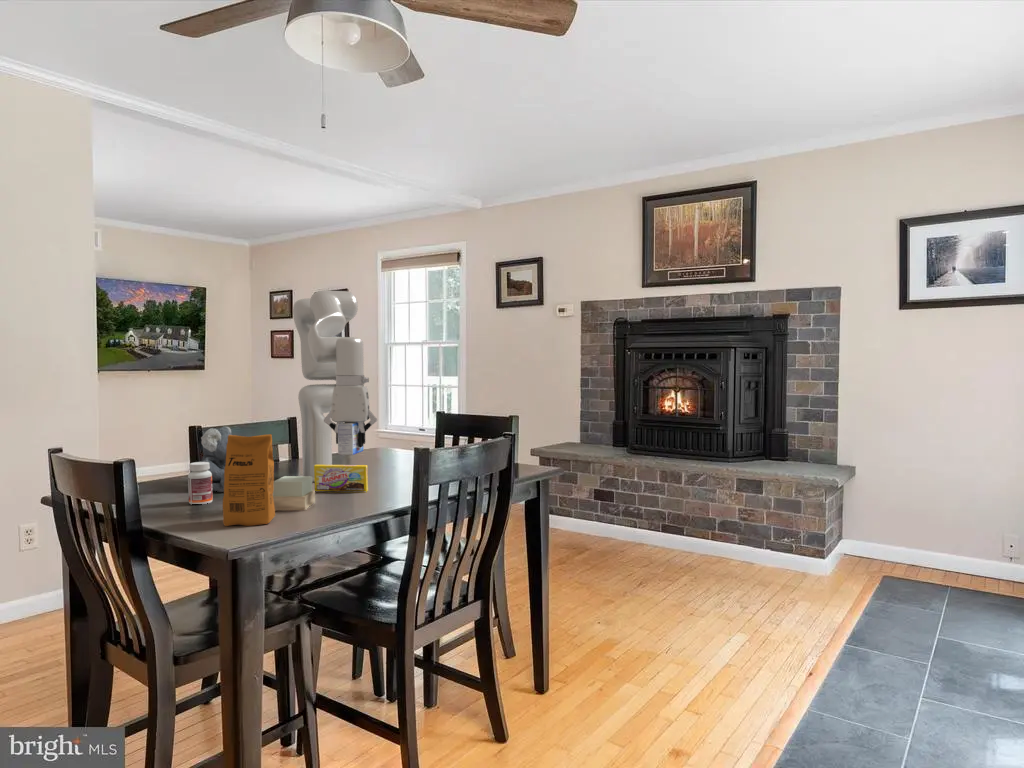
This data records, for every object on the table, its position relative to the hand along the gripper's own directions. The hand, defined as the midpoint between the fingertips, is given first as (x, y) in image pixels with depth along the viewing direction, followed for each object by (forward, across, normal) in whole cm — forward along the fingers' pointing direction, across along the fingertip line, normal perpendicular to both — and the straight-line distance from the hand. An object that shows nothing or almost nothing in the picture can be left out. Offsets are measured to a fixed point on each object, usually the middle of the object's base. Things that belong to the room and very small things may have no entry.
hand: (350, 445), depth 192 cm
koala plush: (+17, +46, -24) cm, 55 cm away
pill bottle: (+17, +43, -2) cm, 46 cm away
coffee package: (+16, +21, +21) cm, 34 cm away
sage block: (+13, +15, +4) cm, 20 cm away
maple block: (+17, +15, +4) cm, 23 cm away
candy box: (+17, +7, -16) cm, 24 cm away
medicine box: (+2, 0, 0) cm, 2 cm away
